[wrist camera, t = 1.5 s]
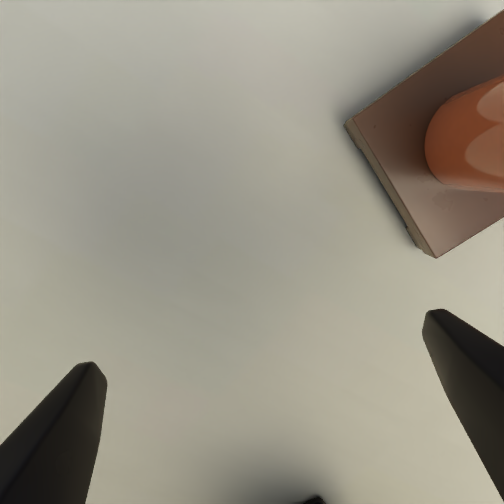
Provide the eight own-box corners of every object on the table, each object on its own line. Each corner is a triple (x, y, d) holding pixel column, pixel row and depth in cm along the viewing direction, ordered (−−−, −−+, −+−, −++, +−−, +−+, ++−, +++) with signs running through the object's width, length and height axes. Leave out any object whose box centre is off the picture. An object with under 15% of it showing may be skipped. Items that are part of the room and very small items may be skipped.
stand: (554, 164, 21) (593, 162, 19) (417, 250, 23) (436, 259, 20) (485, 21, 19) (518, -1, 17) (340, 124, 21) (352, 117, 18)
